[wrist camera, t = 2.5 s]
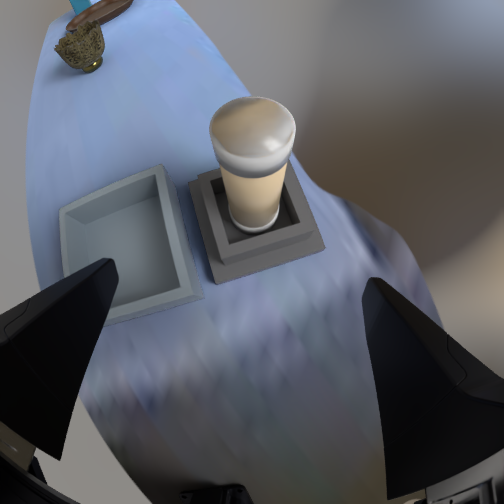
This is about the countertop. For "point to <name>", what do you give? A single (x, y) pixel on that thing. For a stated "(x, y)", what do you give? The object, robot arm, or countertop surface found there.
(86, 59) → the cup
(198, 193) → the tray
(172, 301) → the tray
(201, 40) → the countertop surface
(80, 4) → the data package
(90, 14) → the plant saucer
